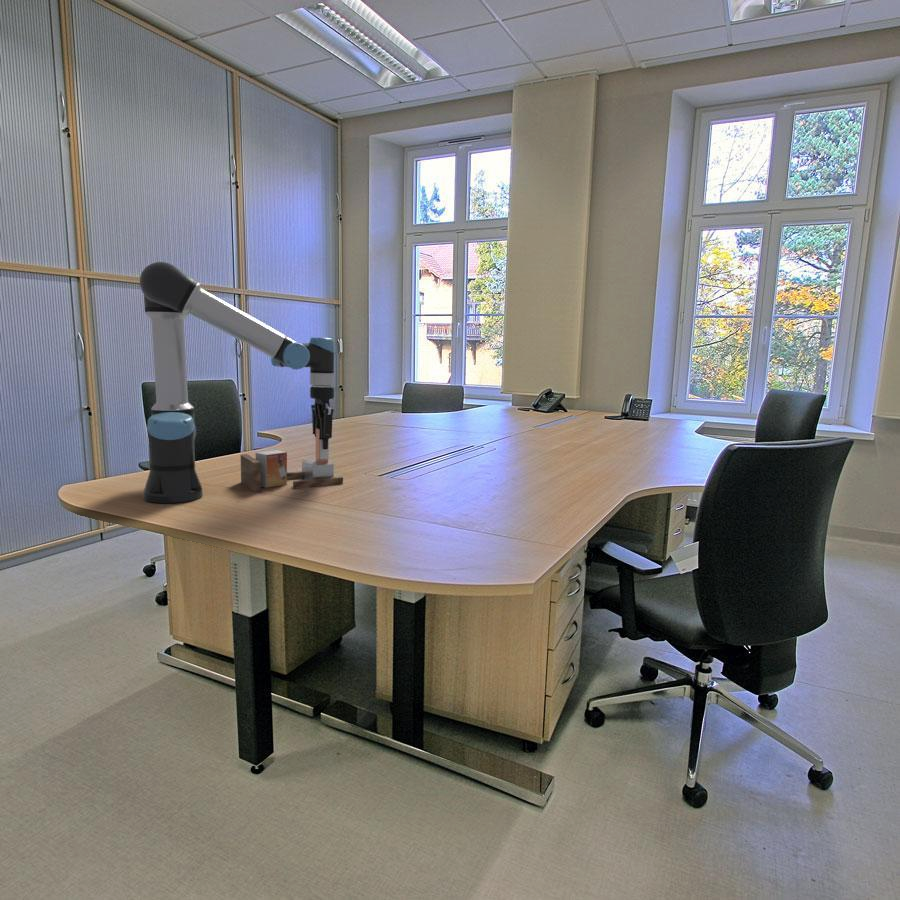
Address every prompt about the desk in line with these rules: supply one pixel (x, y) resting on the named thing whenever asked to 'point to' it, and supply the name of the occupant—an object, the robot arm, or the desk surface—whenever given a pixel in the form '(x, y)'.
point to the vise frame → (253, 476)
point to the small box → (272, 468)
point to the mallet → (317, 464)
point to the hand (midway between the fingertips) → (322, 457)
